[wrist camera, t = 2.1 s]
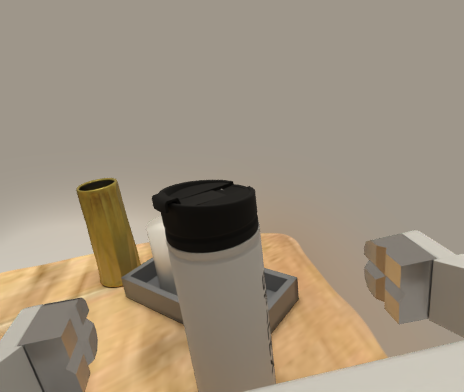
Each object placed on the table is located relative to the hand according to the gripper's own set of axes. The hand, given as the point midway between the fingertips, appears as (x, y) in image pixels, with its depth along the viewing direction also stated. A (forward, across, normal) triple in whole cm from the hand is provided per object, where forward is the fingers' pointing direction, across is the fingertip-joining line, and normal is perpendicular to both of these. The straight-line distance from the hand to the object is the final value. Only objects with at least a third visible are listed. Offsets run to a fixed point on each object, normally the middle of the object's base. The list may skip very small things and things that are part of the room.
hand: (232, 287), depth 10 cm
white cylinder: (+31, +5, +20) cm, 37 cm away
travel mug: (+12, 0, +21) cm, 24 cm away
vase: (+37, +14, +20) cm, 45 cm away
